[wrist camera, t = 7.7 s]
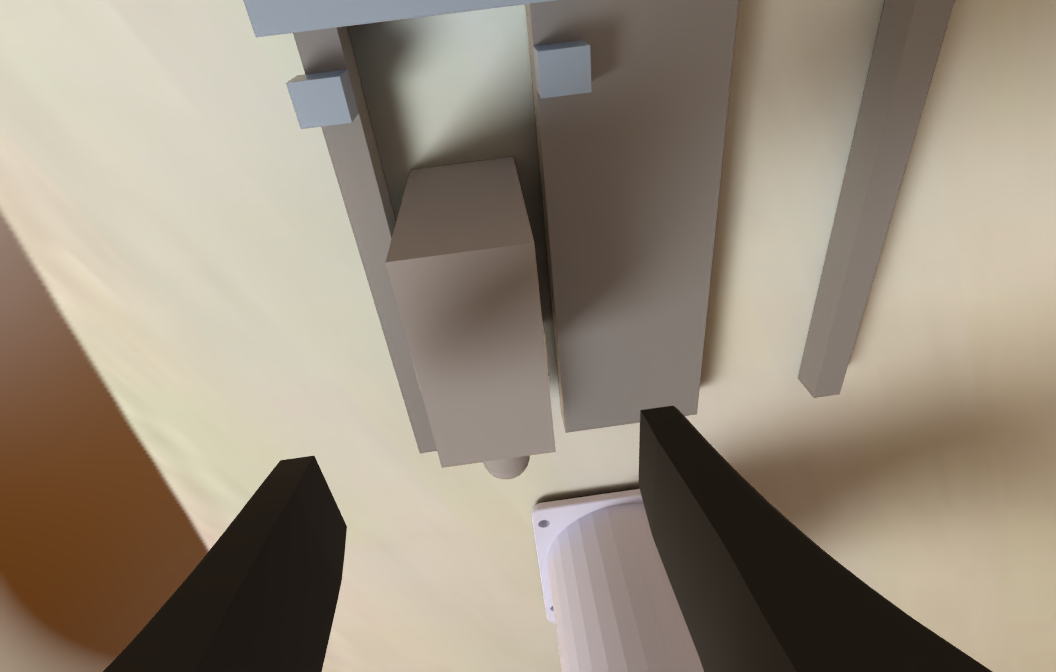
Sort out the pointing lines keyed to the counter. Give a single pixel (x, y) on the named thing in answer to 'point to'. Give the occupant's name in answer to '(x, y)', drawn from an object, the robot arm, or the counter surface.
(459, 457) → the tall taupe box
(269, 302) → the counter surface
